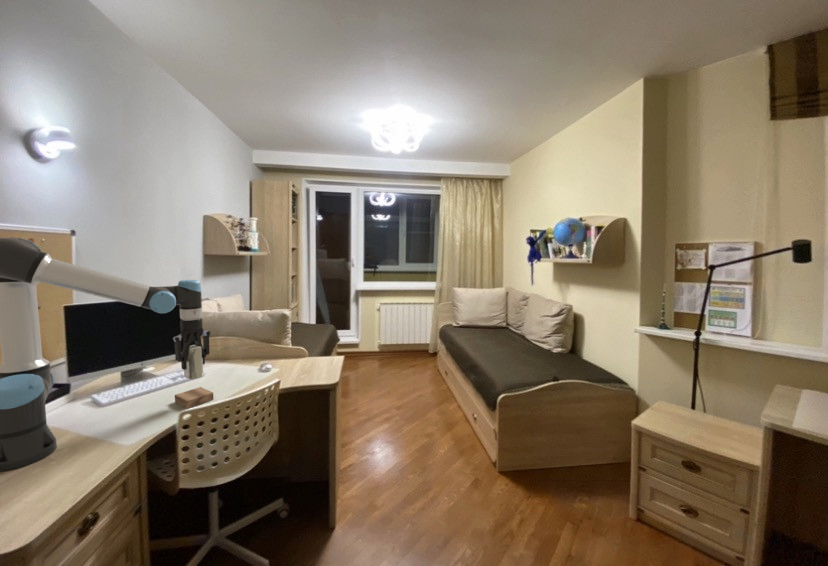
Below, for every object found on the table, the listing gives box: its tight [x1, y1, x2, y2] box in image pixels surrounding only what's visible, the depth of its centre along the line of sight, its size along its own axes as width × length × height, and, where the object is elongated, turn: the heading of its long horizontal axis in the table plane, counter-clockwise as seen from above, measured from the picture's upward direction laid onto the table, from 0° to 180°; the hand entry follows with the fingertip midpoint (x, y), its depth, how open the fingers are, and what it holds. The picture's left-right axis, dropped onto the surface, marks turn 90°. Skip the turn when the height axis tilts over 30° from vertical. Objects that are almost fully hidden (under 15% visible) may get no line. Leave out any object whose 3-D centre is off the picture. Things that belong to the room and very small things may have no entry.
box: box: [185, 344, 203, 381], centre depth 142 cm, size 5×4×13 cm
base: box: [174, 386, 214, 409], centre depth 144 cm, size 10×10×3 cm
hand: (193, 374), depth 143 cm, fingers closed on box, 4 cm apart
